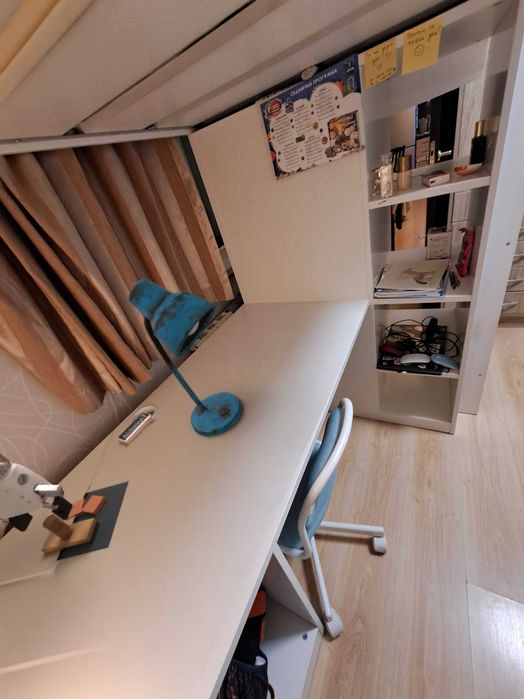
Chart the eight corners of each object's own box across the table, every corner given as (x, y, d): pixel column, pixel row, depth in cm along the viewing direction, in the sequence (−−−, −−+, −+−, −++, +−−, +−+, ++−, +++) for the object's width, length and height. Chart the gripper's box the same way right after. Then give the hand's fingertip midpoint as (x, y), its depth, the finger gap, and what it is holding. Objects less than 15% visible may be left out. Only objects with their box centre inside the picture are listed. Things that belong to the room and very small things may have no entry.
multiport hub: (120, 442, 91) (116, 437, 90) (146, 416, 98) (142, 411, 97) (128, 446, 89) (124, 441, 87) (154, 419, 96) (151, 414, 94)
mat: (28, 569, 65) (26, 568, 65) (61, 500, 78) (60, 499, 78) (109, 548, 64) (108, 547, 64) (130, 482, 77) (128, 480, 77)
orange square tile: (84, 513, 72) (81, 511, 72) (95, 497, 75) (92, 495, 75) (96, 515, 71) (93, 512, 70) (106, 499, 74) (103, 496, 73)
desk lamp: (242, 443, 78) (167, 291, 53) (180, 431, 88) (93, 299, 63) (264, 399, 89) (210, 258, 64) (207, 393, 99) (142, 269, 74)
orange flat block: (68, 522, 72) (64, 520, 71) (71, 508, 75) (68, 505, 74) (84, 514, 72) (81, 511, 71) (86, 500, 75) (83, 497, 75)
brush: (48, 555, 66) (19, 537, 61) (58, 534, 70) (31, 516, 65) (92, 543, 65) (67, 525, 60) (99, 523, 69) (76, 503, 64)
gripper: (38, 445, 55) (91, 491, 65) (-41, 469, 57) (22, 511, 66) (13, 481, 49) (77, 527, 58) (-75, 507, 50) (1, 548, 60)
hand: (48, 518), depth 62 cm, fingers open, 9 cm apart
